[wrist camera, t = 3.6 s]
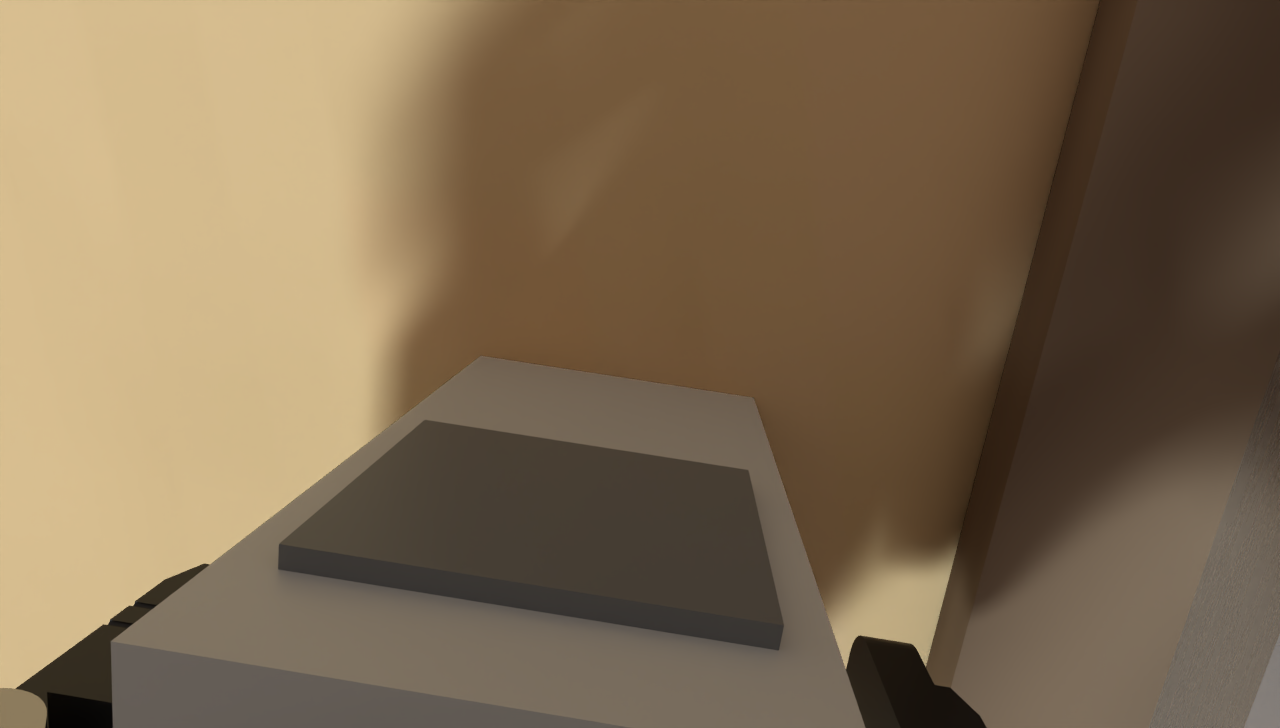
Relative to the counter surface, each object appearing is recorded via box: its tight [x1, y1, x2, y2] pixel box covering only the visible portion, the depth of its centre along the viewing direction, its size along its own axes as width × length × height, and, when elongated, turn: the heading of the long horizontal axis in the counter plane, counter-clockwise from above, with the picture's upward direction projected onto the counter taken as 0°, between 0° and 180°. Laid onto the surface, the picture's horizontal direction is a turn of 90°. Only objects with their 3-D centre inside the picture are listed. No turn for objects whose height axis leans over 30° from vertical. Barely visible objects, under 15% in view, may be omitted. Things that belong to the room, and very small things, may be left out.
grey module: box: [111, 356, 865, 728], centre depth 9 cm, size 4×7×8 cm, turn 172°
